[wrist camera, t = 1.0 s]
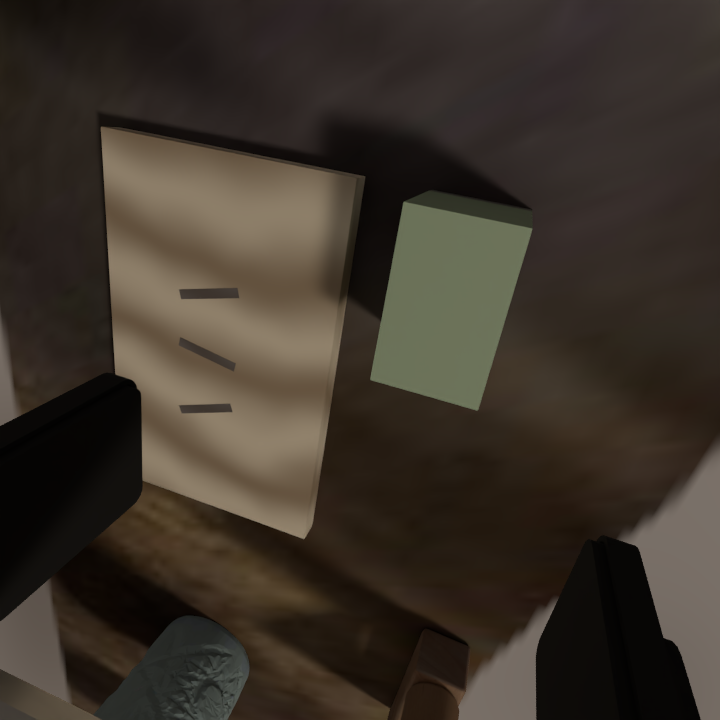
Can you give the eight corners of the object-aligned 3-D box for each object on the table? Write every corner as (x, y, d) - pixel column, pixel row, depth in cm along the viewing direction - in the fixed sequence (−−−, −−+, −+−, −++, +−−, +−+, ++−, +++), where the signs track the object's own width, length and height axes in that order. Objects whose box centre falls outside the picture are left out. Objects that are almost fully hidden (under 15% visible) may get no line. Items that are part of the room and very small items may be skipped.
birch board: (120, 127, 29) (100, 126, 28) (365, 176, 26) (356, 178, 25) (134, 461, 40) (121, 472, 38) (312, 524, 37) (304, 539, 35)
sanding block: (431, 189, 26) (403, 201, 20) (531, 209, 25) (532, 228, 19) (401, 333, 29) (370, 380, 23) (488, 356, 28) (477, 410, 22)
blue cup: (266, 643, 43) (181, 803, 33) (248, 708, 48) (168, 867, 37) (164, 592, 45) (52, 729, 34) (156, 660, 50) (54, 799, 39)
